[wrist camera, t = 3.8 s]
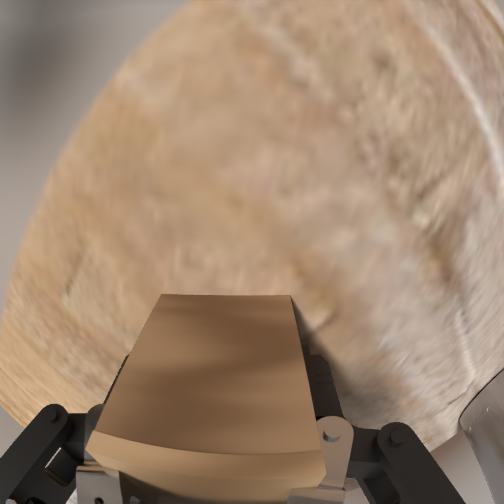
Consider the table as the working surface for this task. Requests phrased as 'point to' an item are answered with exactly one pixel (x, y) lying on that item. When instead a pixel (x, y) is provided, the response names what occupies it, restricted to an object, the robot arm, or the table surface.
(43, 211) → the table surface
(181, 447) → the walnut block
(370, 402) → the table surface
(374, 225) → the table surface
